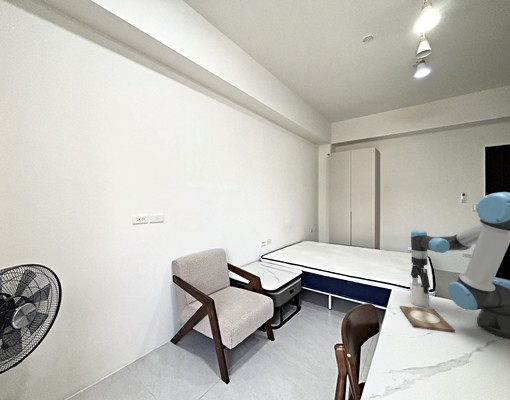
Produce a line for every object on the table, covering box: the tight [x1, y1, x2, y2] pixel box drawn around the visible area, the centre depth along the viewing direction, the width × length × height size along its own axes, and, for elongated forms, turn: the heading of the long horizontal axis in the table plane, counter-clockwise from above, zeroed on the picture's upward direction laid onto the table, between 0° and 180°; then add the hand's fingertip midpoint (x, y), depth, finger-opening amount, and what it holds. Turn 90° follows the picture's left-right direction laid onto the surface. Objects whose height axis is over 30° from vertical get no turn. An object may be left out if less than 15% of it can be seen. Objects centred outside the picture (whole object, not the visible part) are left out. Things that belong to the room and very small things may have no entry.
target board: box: [399, 305, 456, 334], centre depth 111 cm, size 16×20×1 cm
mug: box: [410, 282, 431, 308], centre depth 128 cm, size 9×12×11 cm
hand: (419, 293), depth 129 cm, fingers open, 13 cm apart
